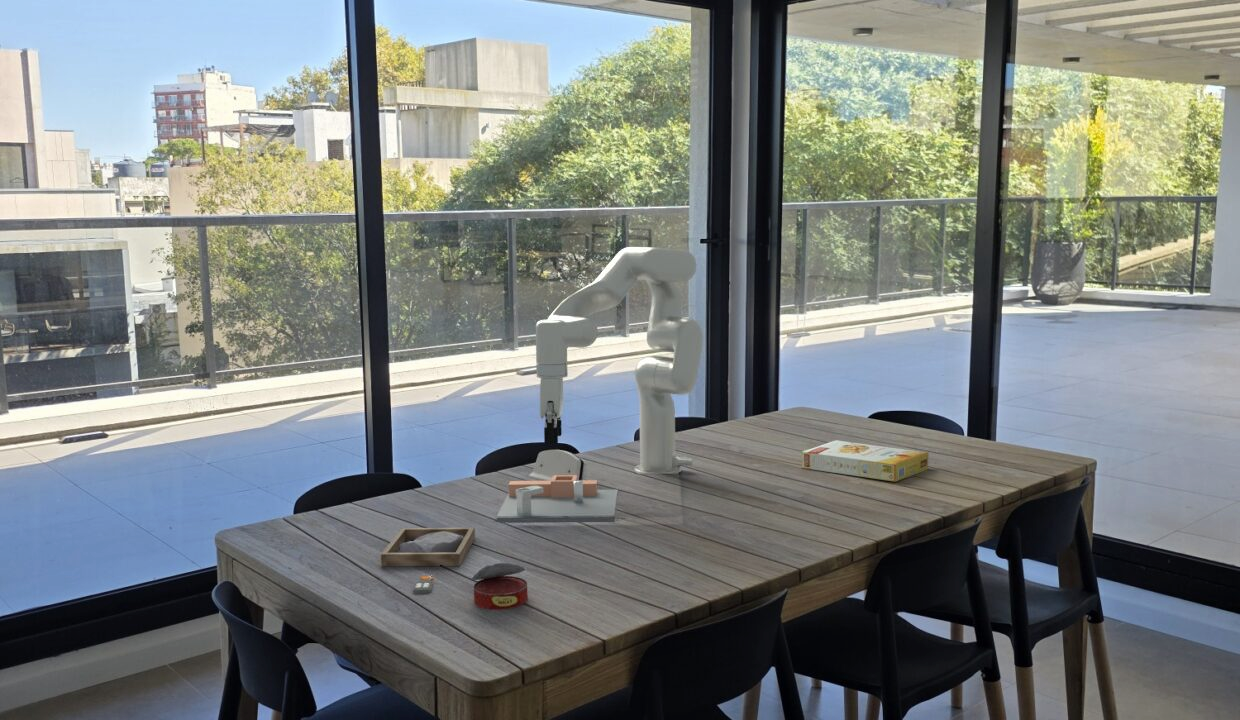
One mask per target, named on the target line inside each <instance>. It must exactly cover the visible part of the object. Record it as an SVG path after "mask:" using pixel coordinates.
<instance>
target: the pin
mask: <svg viewBox="0 0 1240 720" xmlns="http://www.w3.org/2000/svg"><path fill="white" fill-rule="evenodd" d="M574 502H575V503H582V502H583V481H581V480H576V481H574Z"/></svg>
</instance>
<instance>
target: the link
mask: <svg viewBox="0 0 1240 720" xmlns="http://www.w3.org/2000/svg"><path fill="white" fill-rule="evenodd" d="M576 480H577V475H553V477H552V479H551V481H547V480H510V481H509V482H508V493H509V496H516V489H520V488H525V487H530V486H535V485H537V486H540V487H543V492H544V493H540V494H535V495H531V496H551V498H552V497H574V481H576ZM581 481H583V496H597V490H598V480H595V479H593V480H592V479H590V480H589V479H588V480H586V479H585V480H581Z"/></svg>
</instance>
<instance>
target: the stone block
mask: <svg viewBox="0 0 1240 720" xmlns="http://www.w3.org/2000/svg"><path fill="white" fill-rule="evenodd" d="M463 539H464V537H463V536H459V535H457V534H454V533H451V532H445V531H443V532H435V533H429V534H426V535H424V536H421V537H418V538H417V539H415V540H414V541H407V542H406V541H405V542H404V543H402V544H400V549H399V553H436V552H456V551H457V549H458V547H459V546H460V544H461V542H462V541H463Z"/></svg>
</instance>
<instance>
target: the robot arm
mask: <svg viewBox="0 0 1240 720" xmlns="http://www.w3.org/2000/svg"><path fill="white" fill-rule="evenodd" d="M696 271H697V260H696V258H695V256H694V255H693V253H692V252H690V251H688V250H686V249H673V248H672V249H671V248H662V247H656V246H655V247H651V246H628V247H624V248H622V249H620V251H618V252H617V253H616V254H615V256H614V257H613V258H612V259H611V261H610V262H609V263H607V265H606V266H605V268H604V269H603V270H602V272H600V274H599V275H598V276H597V277H596V278H595V280H594V281H592V283H589V284H587V285H585V286H584V287H582V288H581V289H579V290H577V291H576V292H574V293H573V294H571V295H569V296H567V298H565V299H563V300H562V301H561V302H560V303H559V304H558V305H557V307H555V309H554V310H553V311H552V313H551V314H550V315H549V316H548V318H547V319H540V320H538V321H537V322H536V324H535V357H536V358H535V359H536V360H535V363H536V366H535V367H536V369H535V371H536V378H539V379H540V382H539V383H540V384H539V418H540V419H543V418H544V427H543V430H544V431H543V434H544V436H543V438H544V440H543V441H544V445H557V444H559V437H561V436H562V434H563V433H562V432H563V431H562V419H561V418H562V417H561V416H562V413H563V408H564V407H563V406H564V378H568V348H577V349H579V348H580V349H581V348H582V349H583V348H587V347H589V346H592V345H593V344H594V343H595V342H596V340H597V338H598V335H599V333H598V331H599V329H598V327H597V324H596V323H595V322H594V321H593V320H591V319H590V318H587V317H588V316H590V315H593V314H596V313H600V312H603V311H607V310H609V309H612V308H615V307H617V306H618V305H619V304H620V303H621V302H622V301H623V300H624V298H625V297H626V296H627V294H628V293H629V292H630V291H631V290H632V288H633V287H634V286H635V285H636V283H637V282H638V281H645V283H647V285H648V287H649V289H650V294H651V303H650V311H649V318H648V324H647V331H646V343H647V345H648V347H650V348H651V349H652V350H655V351H659V352H663V353H673V357H669V356H662V355H649V356H645V357H642V358H641V359H640V360H639V361H638V363H637V364H636V366H635V370H634V375H635V376H634V377H635V384H636V388H637V393H638V394H637V395H638V401H639V403H638V407H639V462H640V463H639V464H637V465H635V467H634V472H635V473H636V474H637V475H643V474H644V475H652V474H653V475H658V474H659V475H660V474H663V475H664V474H665V475H666V474H670V475H671V474H677V473H678V474H679V472H680V473H681V472H682V466H686V467H687V466H689V467H690V466H693V458H688V457H679V456H677V452H676V416H675V415H676V411H675V409H676V407H675V403H674V400H673V397H672V395H678V396H679V395H681V396H683V395H687V394H690V393H691V392H692V391H693V390H694V388H695V386H696V383H697V380H698V375H699V371H700V363H701V359H702V358H701V357H702V351H703V343H704V334H703V330H702V327H701V325H700V324H699V322H698V321H697V320H695V319H693V318H690V317H682V316H683V310H684V309H683V307H684V296H683V291H682V289H681V287H680V285H679V284H678V283H686V282H689V281H690V280H691V279H692V278H694V277H695V276H694V275H695V274H696Z"/></svg>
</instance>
